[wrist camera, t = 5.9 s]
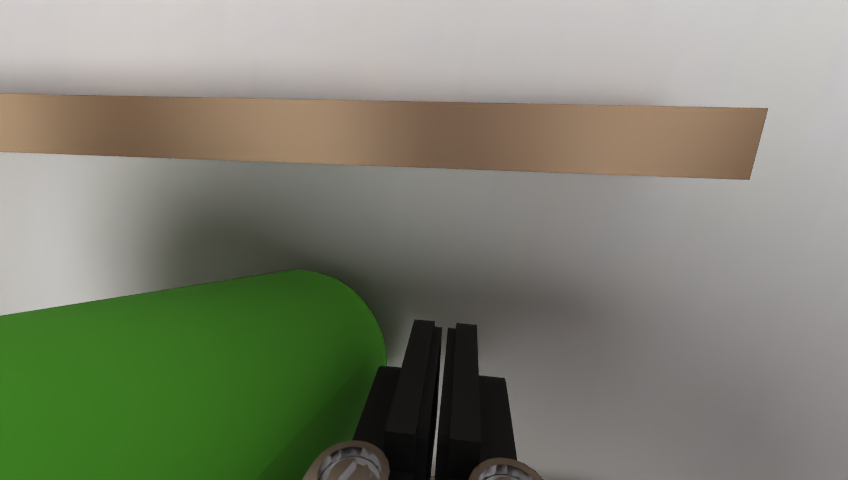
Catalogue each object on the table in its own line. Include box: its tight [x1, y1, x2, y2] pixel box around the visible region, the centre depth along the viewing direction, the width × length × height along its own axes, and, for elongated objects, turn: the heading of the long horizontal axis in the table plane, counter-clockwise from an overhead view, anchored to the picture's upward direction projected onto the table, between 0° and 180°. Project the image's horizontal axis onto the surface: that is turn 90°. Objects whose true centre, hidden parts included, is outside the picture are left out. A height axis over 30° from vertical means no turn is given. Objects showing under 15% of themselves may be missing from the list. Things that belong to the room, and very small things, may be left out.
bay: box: [0, 94, 768, 480], centre depth 11 cm, size 28×14×5 cm, turn 88°
